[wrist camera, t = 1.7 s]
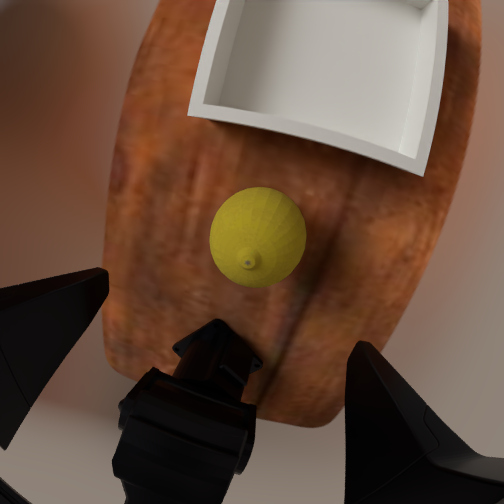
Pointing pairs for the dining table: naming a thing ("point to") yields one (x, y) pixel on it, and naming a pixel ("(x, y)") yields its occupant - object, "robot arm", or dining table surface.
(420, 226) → the dining table surface
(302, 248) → the lemon
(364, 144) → the box
